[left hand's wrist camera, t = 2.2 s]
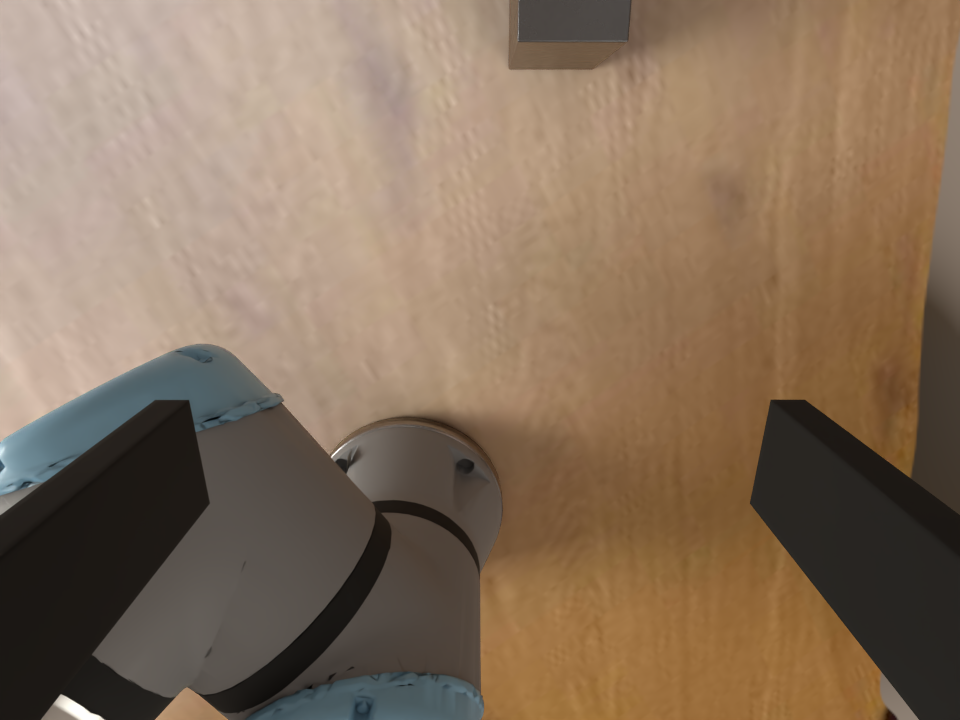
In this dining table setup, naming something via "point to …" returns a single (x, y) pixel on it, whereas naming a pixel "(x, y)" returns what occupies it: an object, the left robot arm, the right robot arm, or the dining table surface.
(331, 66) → the dining table surface
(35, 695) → the left robot arm
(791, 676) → the dining table surface
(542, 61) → the bar
